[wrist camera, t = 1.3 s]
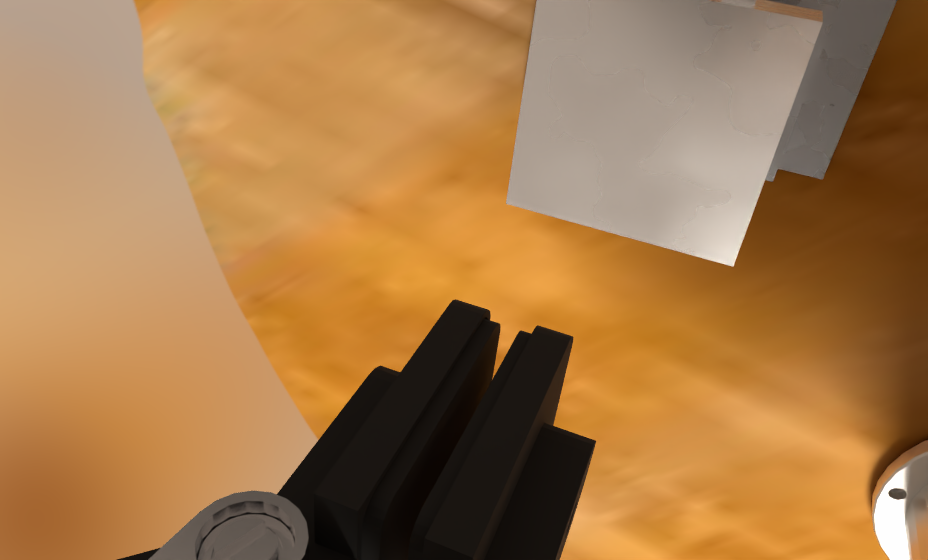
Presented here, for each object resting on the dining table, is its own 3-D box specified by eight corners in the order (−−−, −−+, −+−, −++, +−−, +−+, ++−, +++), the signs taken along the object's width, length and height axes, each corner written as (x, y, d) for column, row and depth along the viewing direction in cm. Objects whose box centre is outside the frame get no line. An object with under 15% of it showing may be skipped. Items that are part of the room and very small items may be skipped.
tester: (944, -125, 27) (989, -99, 20) (822, 170, 34) (824, 267, 27) (574, -177, 31) (504, -170, 24) (530, 101, 38) (465, 170, 31)
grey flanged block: (848, -124, 24) (863, -89, 16) (753, 150, 29) (733, 266, 22) (630, -155, 25) (557, -137, 18) (578, 108, 31) (506, 203, 24)
